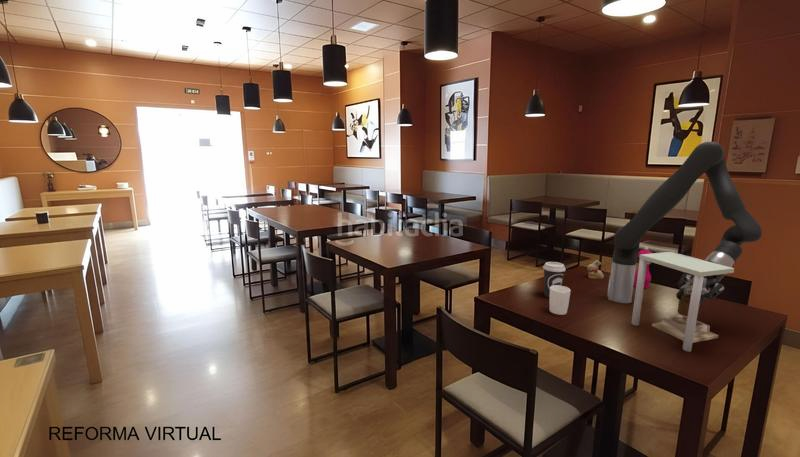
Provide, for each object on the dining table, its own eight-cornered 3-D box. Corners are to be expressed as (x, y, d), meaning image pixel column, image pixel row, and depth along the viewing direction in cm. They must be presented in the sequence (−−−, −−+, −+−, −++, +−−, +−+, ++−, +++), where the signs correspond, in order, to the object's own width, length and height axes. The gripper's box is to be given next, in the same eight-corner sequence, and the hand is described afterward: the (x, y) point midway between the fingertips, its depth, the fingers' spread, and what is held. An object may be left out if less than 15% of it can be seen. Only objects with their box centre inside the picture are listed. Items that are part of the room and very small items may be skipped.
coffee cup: (564, 294, 177) (567, 263, 174) (560, 301, 169) (563, 268, 166) (543, 290, 182) (545, 260, 179) (538, 296, 174) (541, 265, 171)
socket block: (679, 321, 149) (681, 311, 148) (718, 337, 136) (720, 327, 135) (652, 326, 145) (653, 316, 144) (688, 343, 132) (690, 332, 131)
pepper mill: (652, 289, 183) (658, 249, 179) (636, 288, 185) (641, 248, 181) (646, 284, 190) (651, 245, 186) (630, 283, 192) (635, 244, 188)
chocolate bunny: (587, 274, 205) (589, 257, 203) (603, 277, 201) (606, 259, 199) (586, 277, 200) (588, 259, 199) (602, 280, 196) (605, 261, 194)
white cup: (566, 317, 152) (568, 293, 150) (546, 312, 156) (548, 289, 154) (569, 310, 159) (572, 287, 157) (549, 306, 163) (551, 284, 161)
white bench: (659, 318, 151) (669, 251, 146) (720, 345, 130) (735, 268, 125) (629, 323, 147) (638, 254, 142) (687, 352, 126) (701, 272, 120)
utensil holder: (674, 313, 139) (679, 282, 137) (680, 309, 143) (685, 279, 141) (694, 319, 135) (699, 286, 133) (700, 314, 139) (704, 283, 136)
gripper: (691, 255, 144) (662, 288, 143) (733, 265, 130) (702, 302, 129) (699, 267, 146) (671, 300, 145) (741, 279, 133) (711, 315, 132)
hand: (686, 301), depth 137 cm, fingers closed on utensil holder, 5 cm apart
